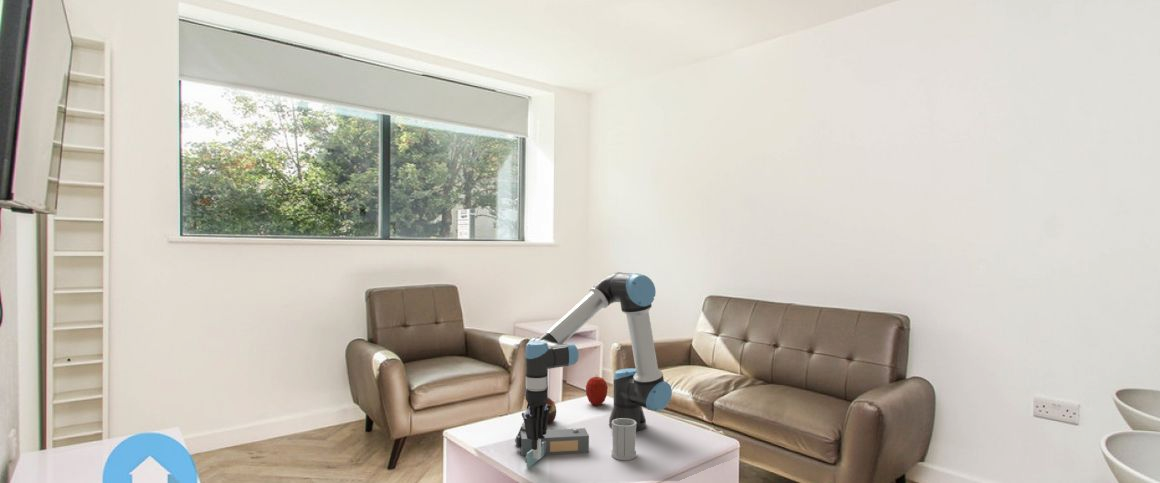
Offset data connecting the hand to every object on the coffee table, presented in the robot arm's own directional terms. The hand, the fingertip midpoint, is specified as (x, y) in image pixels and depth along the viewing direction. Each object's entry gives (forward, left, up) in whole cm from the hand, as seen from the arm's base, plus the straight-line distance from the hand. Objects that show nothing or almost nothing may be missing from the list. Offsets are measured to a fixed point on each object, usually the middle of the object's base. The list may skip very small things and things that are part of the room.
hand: (536, 457), depth 187 cm
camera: (-1, -25, -3) cm, 25 cm away
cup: (-32, -5, -3) cm, 32 cm away
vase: (-7, -44, -3) cm, 45 cm away
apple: (-34, -65, -3) cm, 73 cm away
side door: (0, -4, -2) cm, 4 cm away
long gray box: (-8, -13, -3) cm, 15 cm away
